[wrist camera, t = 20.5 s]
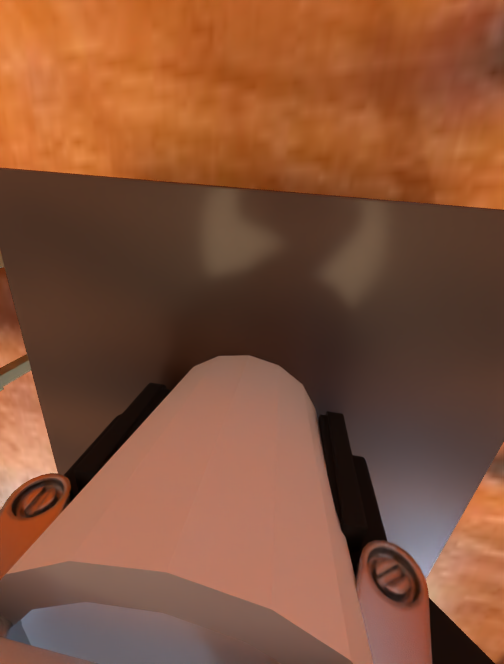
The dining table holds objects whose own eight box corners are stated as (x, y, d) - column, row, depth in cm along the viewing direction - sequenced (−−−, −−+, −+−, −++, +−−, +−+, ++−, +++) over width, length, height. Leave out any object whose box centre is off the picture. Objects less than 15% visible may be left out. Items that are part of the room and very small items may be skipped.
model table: (131, 187, 17) (-23, 165, 9) (451, 215, 15) (630, 220, 7) (148, 405, 23) (67, 510, 15) (375, 444, 22) (421, 587, 13)
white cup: (374, 399, 10) (511, 739, 4) (274, 506, 13) (252, 803, 6) (198, 302, 9) (-6, 491, 3) (135, 435, 12) (-39, 678, 6)
